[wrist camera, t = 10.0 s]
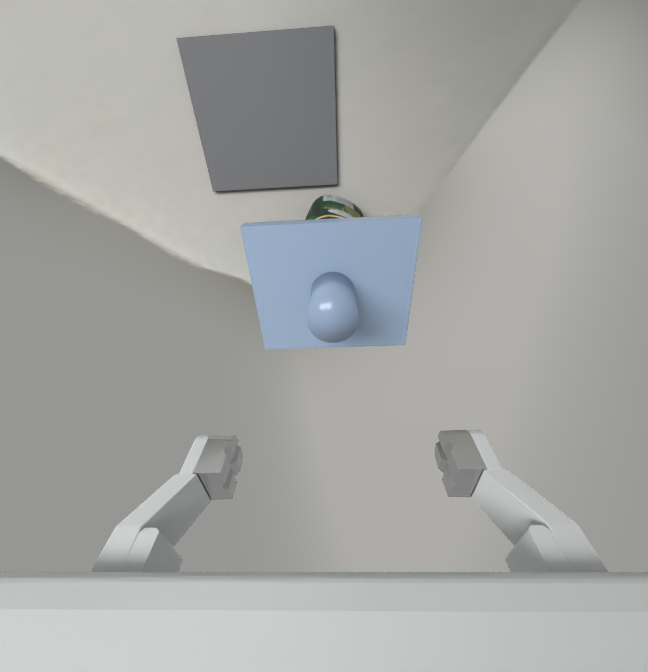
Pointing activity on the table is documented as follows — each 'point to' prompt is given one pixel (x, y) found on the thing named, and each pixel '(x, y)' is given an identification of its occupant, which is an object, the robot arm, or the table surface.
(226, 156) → the mat
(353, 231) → the lid
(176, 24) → the table surface
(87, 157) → the table surface
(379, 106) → the table surface
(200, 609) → the robot arm
